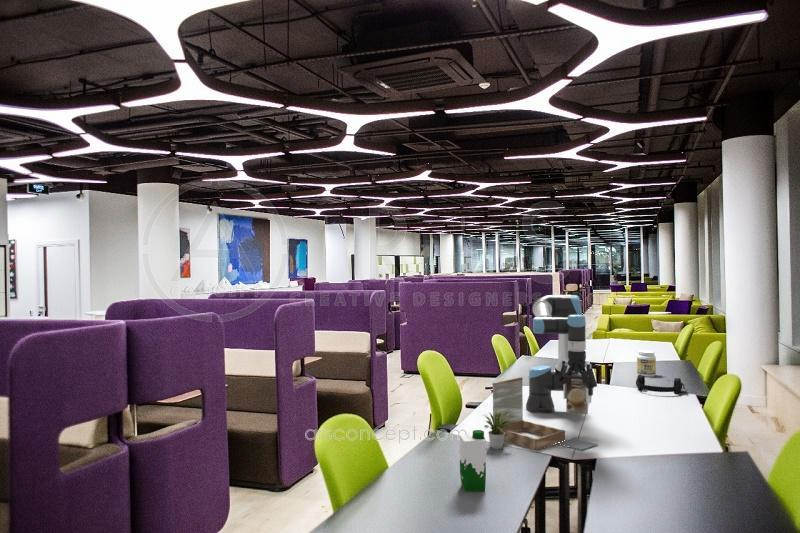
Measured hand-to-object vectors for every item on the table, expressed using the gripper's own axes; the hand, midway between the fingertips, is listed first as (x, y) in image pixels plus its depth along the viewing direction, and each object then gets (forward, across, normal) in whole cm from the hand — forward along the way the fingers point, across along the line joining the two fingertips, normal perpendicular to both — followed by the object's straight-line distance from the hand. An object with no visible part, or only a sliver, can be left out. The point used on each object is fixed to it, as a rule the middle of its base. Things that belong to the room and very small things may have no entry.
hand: (577, 400), depth 254 cm
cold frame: (+19, -19, -9) cm, 29 cm away
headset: (+20, -29, +131) cm, 135 cm away
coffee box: (+5, 0, 0) cm, 5 cm away
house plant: (+20, -21, -30) cm, 42 cm away
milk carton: (+20, +4, -70) cm, 73 cm away
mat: (+19, 0, 0) cm, 19 cm away
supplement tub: (+19, -59, +171) cm, 182 cm away
